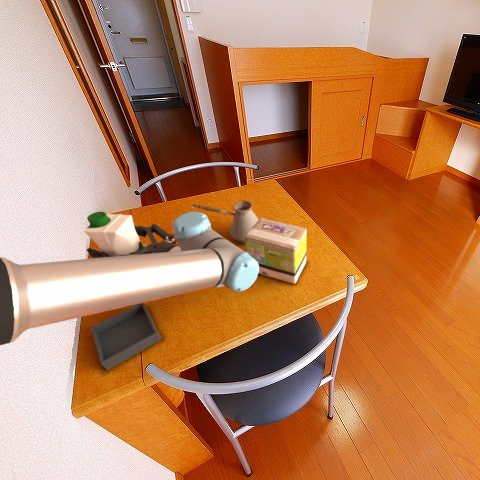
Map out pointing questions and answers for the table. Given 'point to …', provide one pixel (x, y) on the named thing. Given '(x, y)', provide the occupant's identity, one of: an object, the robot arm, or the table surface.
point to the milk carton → (113, 233)
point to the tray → (124, 335)
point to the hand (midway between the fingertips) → (109, 239)
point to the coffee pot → (238, 218)
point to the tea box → (278, 248)
